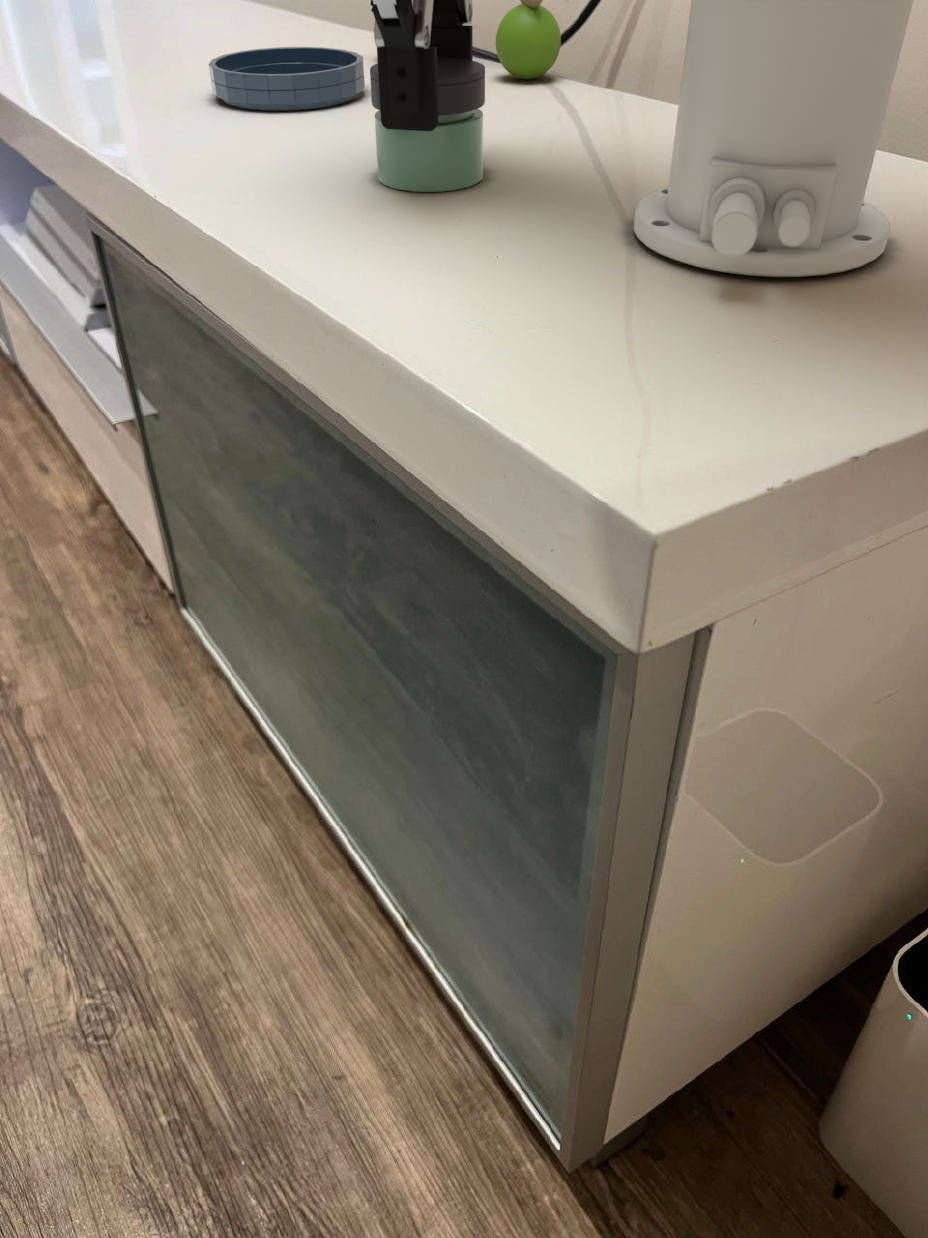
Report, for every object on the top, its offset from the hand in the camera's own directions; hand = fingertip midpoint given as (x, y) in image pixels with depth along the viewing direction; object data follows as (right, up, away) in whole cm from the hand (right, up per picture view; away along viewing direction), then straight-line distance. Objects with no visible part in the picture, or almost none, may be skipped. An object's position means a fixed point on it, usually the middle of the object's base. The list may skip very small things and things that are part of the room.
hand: (429, 111), depth 56 cm
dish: (-12, +12, +21) cm, 27 cm away
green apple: (+7, +16, +26) cm, 31 cm away
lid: (0, +1, -1) cm, 2 cm away
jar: (0, -3, +2) cm, 4 cm away
